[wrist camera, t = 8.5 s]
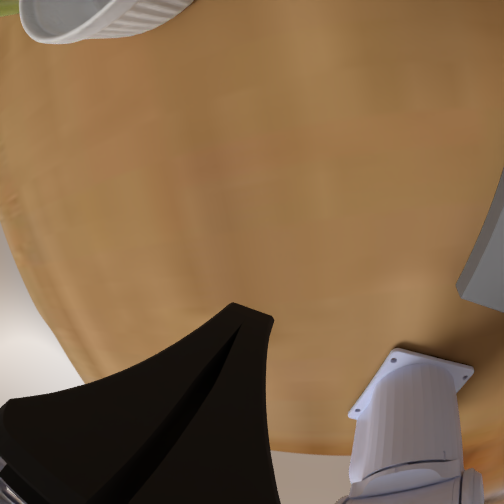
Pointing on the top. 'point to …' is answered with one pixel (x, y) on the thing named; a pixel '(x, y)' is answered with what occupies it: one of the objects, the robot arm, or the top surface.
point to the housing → (487, 259)
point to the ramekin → (94, 18)
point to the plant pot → (9, 7)
